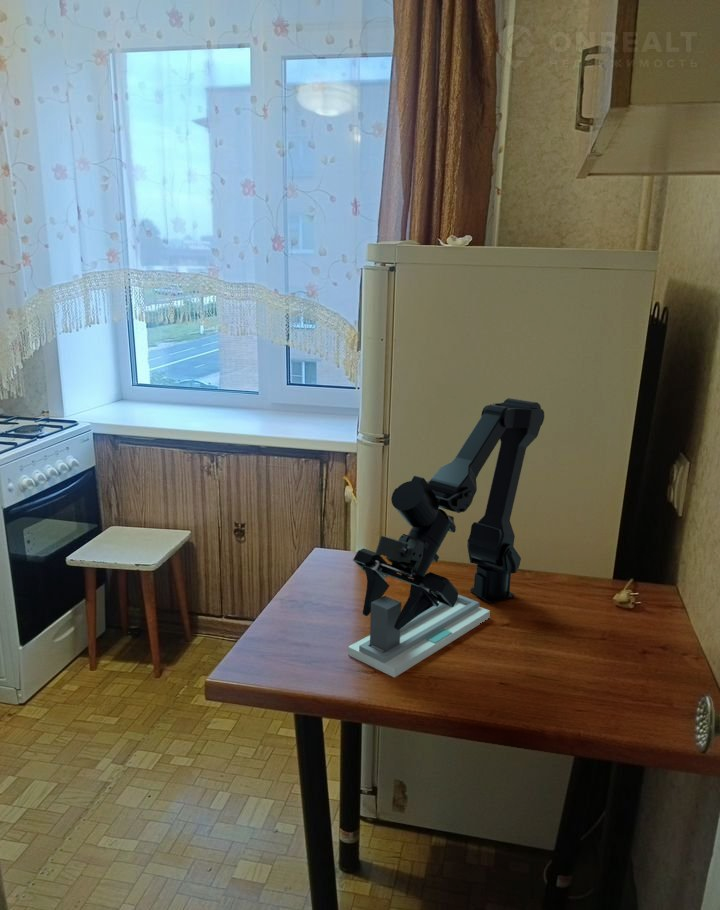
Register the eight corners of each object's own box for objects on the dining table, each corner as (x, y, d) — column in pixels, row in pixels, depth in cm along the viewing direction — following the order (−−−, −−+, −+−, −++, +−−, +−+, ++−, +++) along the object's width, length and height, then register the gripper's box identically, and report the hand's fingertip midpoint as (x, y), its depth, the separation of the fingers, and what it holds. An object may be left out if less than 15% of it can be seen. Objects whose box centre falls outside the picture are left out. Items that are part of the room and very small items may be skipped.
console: (445, 601, 142) (446, 589, 141) (489, 618, 135) (490, 605, 135) (347, 654, 121) (348, 641, 121) (394, 677, 115) (394, 663, 114)
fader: (384, 640, 123) (385, 595, 121) (400, 648, 121) (402, 601, 119) (368, 649, 120) (370, 602, 118) (384, 657, 118) (386, 609, 116)
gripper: (361, 503, 124) (314, 583, 118) (451, 531, 112) (404, 621, 106) (389, 535, 131) (346, 611, 126) (476, 564, 119) (433, 649, 114)
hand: (380, 621), depth 118 cm, fingers open, 6 cm apart
